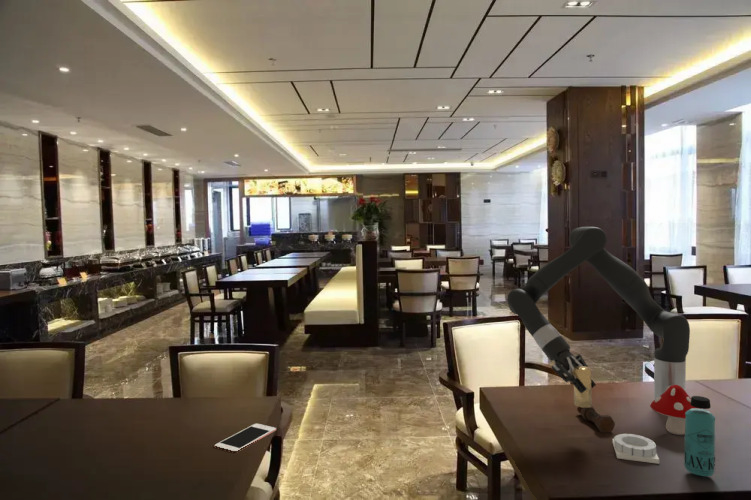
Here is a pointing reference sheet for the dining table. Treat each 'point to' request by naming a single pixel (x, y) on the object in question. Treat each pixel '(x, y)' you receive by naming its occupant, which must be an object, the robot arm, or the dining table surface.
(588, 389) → the cylinder
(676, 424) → the decorative mushroom
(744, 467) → the dining table surface
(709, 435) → the beverage bottle
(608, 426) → the bolt
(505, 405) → the dining table surface
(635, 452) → the seat block
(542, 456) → the dining table surface
